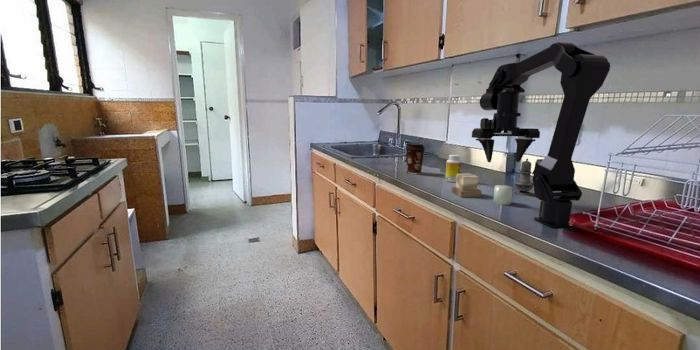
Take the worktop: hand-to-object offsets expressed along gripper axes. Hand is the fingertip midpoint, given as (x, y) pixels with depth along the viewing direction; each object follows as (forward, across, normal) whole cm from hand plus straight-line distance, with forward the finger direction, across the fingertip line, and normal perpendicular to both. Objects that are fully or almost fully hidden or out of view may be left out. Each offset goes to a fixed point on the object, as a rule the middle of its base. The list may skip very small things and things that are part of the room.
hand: (503, 162), depth 101 cm
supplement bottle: (+11, +2, -30) cm, 32 cm away
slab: (+12, +7, -9) cm, 17 cm away
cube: (+10, +7, -9) cm, 15 cm away
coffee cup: (+11, +12, -48) cm, 51 cm away
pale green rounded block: (+12, +1, +2) cm, 12 cm away
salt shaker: (+12, -13, -8) cm, 20 cm away
